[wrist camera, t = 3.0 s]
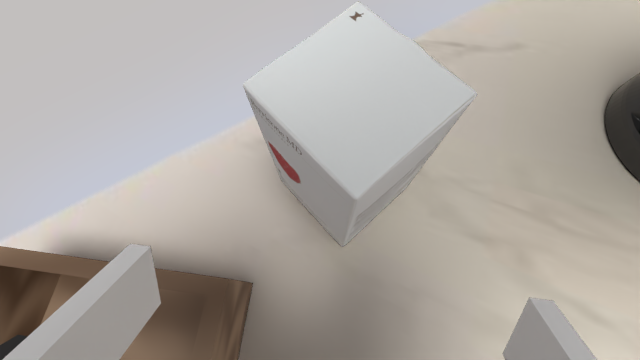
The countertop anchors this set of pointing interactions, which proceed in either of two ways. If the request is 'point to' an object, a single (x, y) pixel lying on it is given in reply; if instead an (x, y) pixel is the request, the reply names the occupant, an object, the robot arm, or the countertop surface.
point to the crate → (161, 329)
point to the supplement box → (354, 117)
